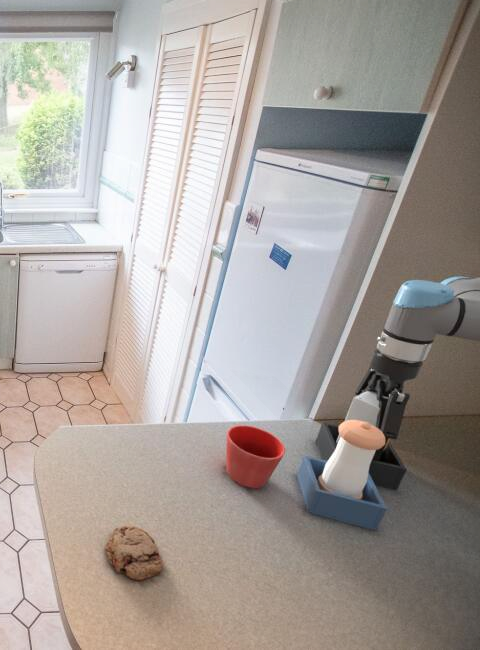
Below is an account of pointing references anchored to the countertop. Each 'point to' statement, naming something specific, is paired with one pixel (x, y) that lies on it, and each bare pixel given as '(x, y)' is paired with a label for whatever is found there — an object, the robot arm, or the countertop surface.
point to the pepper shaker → (351, 459)
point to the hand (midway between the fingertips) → (362, 441)
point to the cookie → (134, 553)
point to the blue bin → (339, 498)
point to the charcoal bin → (381, 471)
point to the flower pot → (252, 455)
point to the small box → (364, 410)
